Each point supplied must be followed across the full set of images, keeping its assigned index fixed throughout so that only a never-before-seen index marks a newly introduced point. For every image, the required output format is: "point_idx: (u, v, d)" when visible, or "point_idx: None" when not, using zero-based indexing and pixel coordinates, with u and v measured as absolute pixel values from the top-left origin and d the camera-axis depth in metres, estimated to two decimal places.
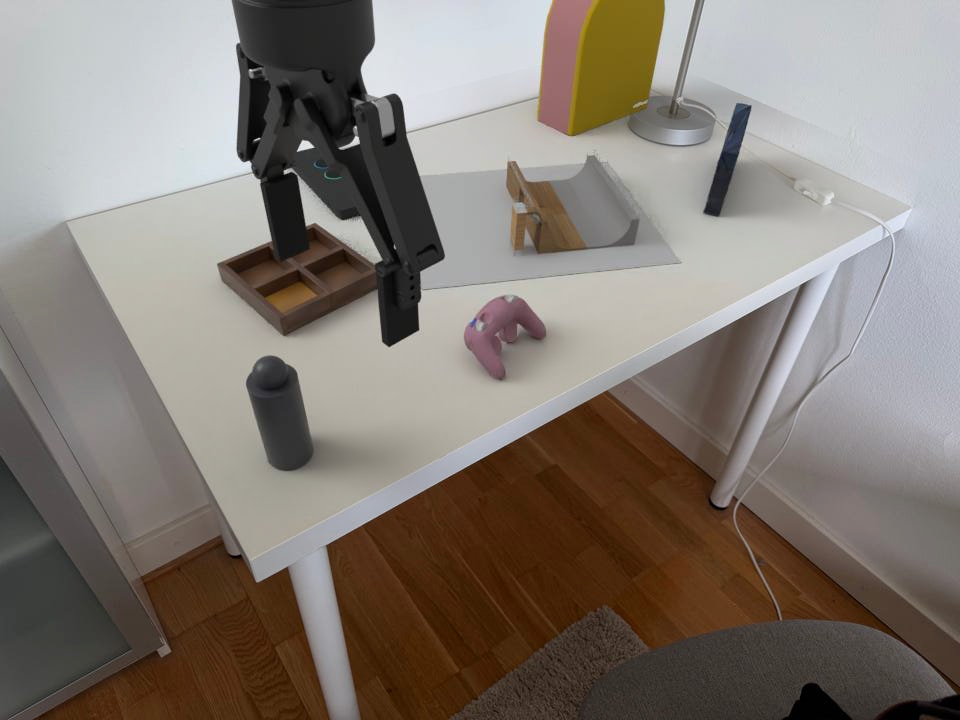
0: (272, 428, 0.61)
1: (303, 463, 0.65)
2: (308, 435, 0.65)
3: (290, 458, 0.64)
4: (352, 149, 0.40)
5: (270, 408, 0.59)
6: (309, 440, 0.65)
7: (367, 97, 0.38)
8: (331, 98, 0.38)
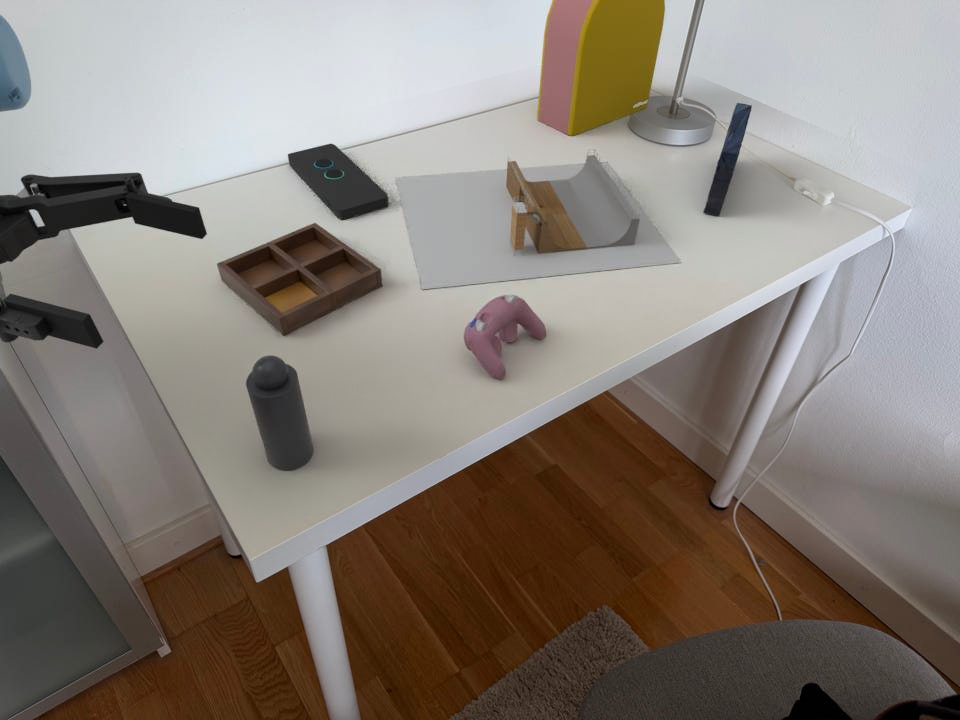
0: (272, 428, 0.61)
1: (303, 463, 0.65)
2: (308, 435, 0.65)
3: (290, 458, 0.64)
4: None
5: (270, 408, 0.59)
6: (309, 440, 0.65)
7: None
8: (3, 196, 0.57)
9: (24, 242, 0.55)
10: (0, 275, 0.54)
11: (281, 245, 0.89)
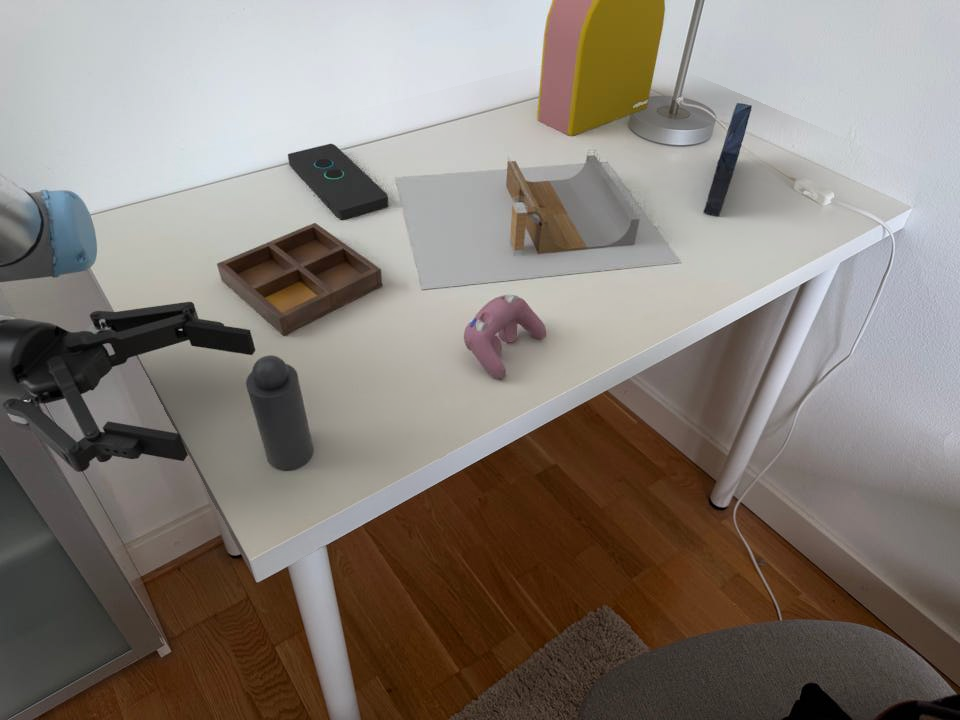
0: (272, 428, 0.61)
1: (303, 463, 0.65)
2: (308, 435, 0.65)
3: (290, 458, 0.64)
4: None
5: (270, 408, 0.59)
6: (309, 440, 0.65)
7: None
8: (78, 333, 0.66)
9: (101, 372, 0.65)
10: None
11: (281, 245, 0.89)
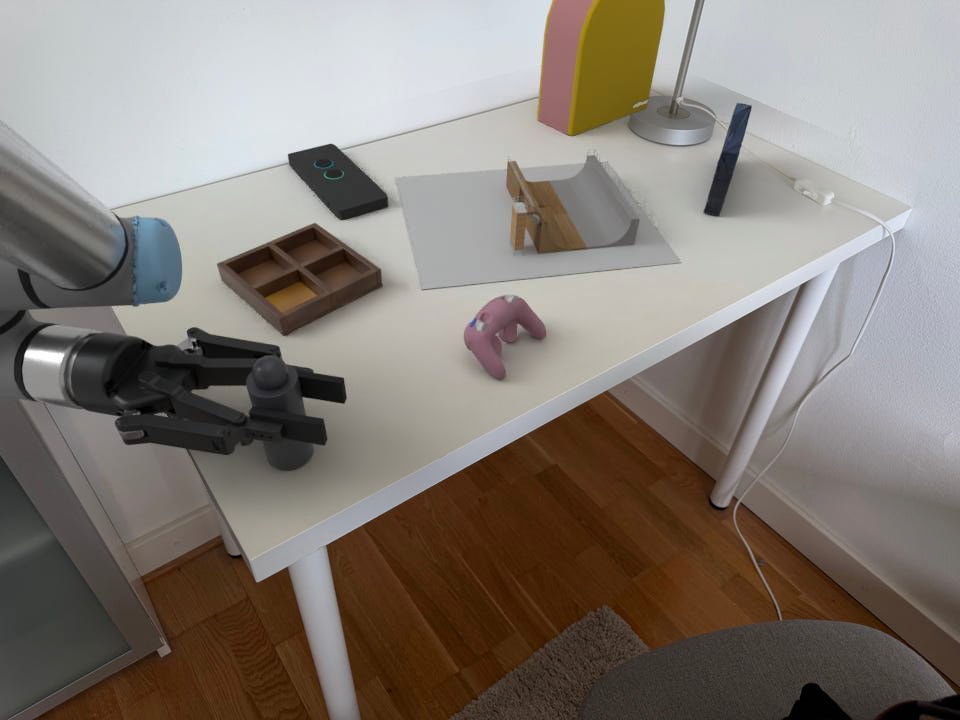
0: None
1: (303, 463, 0.65)
2: None
3: (290, 458, 0.64)
4: None
5: (269, 408, 0.59)
6: None
7: None
8: (166, 346, 0.65)
9: (189, 387, 0.63)
10: None
11: (281, 245, 0.89)
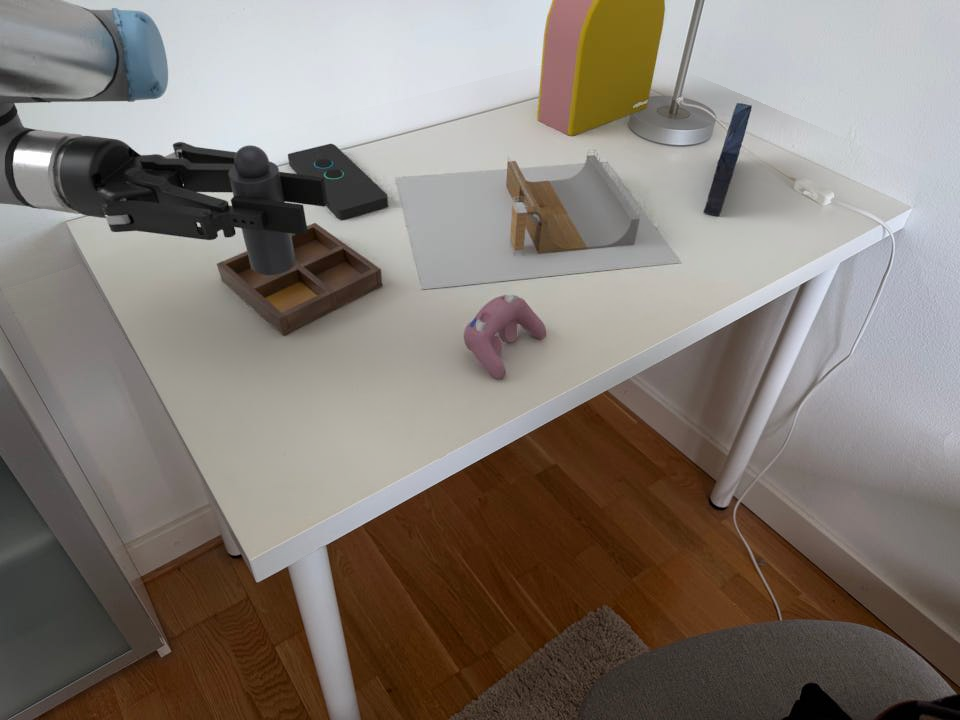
0: None
1: (285, 269, 0.68)
2: (290, 240, 0.67)
3: (272, 261, 0.66)
4: None
5: (251, 196, 0.61)
6: (291, 246, 0.67)
7: None
8: (153, 155, 0.67)
9: None
10: None
11: None
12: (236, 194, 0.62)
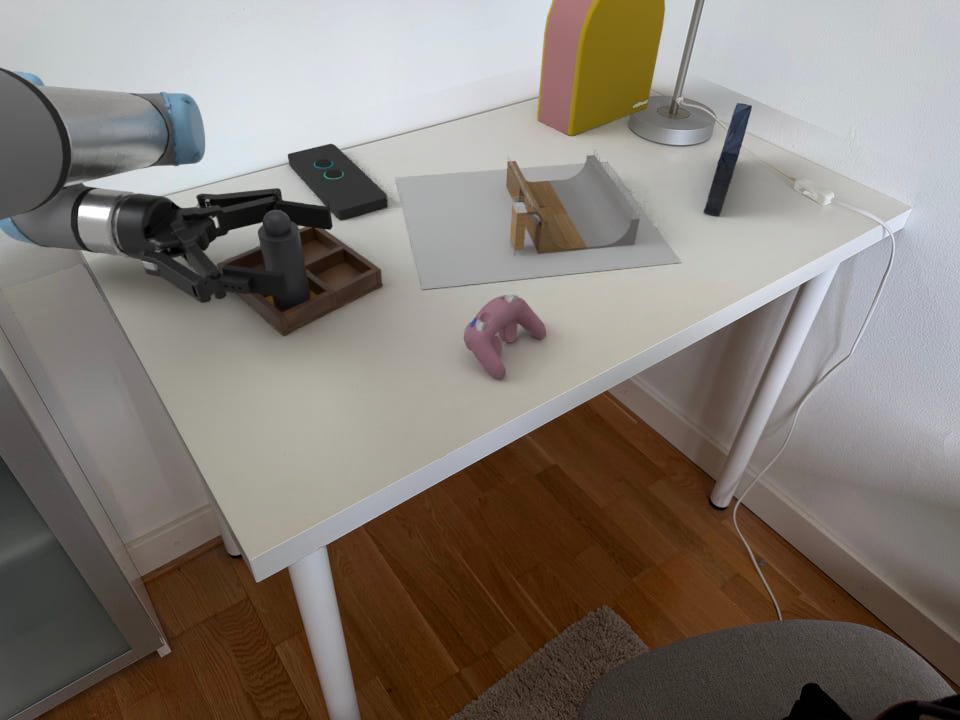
0: (278, 271, 0.77)
1: None
2: (307, 284, 0.81)
3: (292, 301, 0.80)
4: (217, 215, 0.81)
5: (276, 251, 0.75)
6: (308, 288, 0.81)
7: None
8: (189, 208, 0.80)
9: (210, 237, 0.79)
10: None
11: None
12: (264, 249, 0.75)
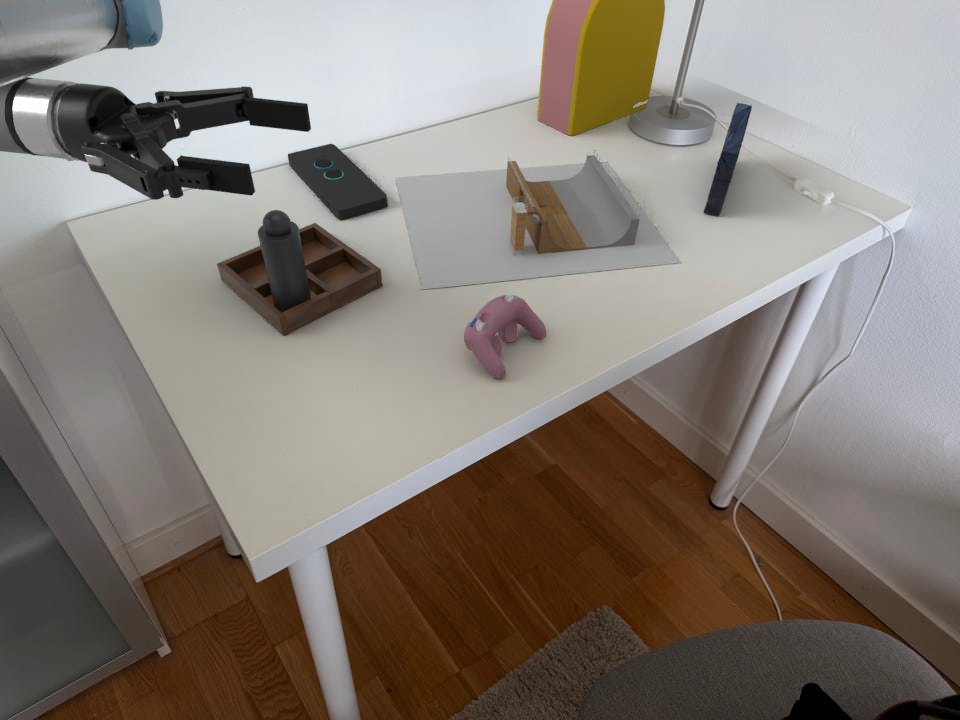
0: (278, 271, 0.77)
1: None
2: (307, 284, 0.81)
3: (292, 301, 0.80)
4: None
5: (276, 251, 0.75)
6: (308, 288, 0.81)
7: None
8: None
9: (168, 135, 0.68)
10: None
11: None
12: (264, 249, 0.75)
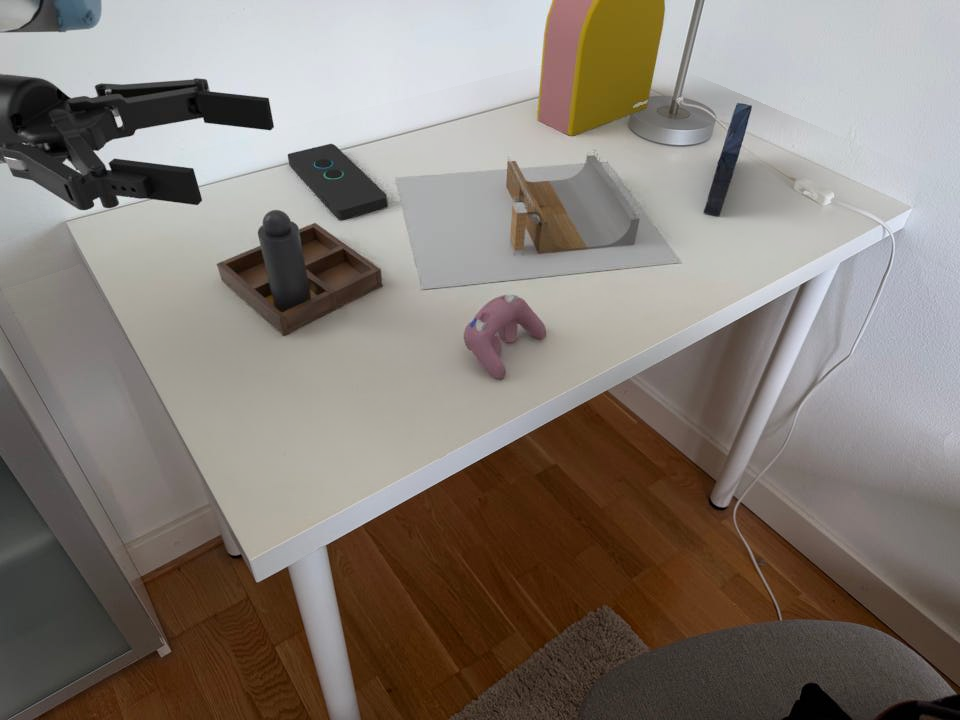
0: (278, 271, 0.77)
1: None
2: (307, 284, 0.81)
3: (292, 301, 0.80)
4: None
5: (276, 251, 0.75)
6: (308, 288, 0.81)
7: None
8: None
9: (107, 135, 0.59)
10: None
11: None
12: (264, 249, 0.75)
